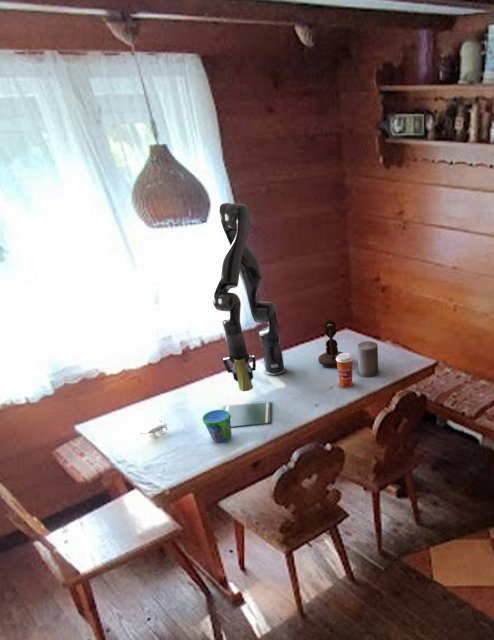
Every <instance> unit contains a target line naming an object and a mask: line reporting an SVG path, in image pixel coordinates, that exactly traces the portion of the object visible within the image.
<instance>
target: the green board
mask: <svg viewBox="0 0 494 640" xmlns="http://www.w3.org/2000/svg"><path fill="white" fill-rule="evenodd" d="M271 404H272V403H271V401H270V402H268V401H267V402H259V403H249V404H236V405H226V406H224V409H223V410H226V411H228V412H229V413H230V415H231V418H230V424H231V428H238V427H248V426H259V425H270V424H271Z"/></svg>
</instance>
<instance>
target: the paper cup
mask: <svg viewBox="0 0 494 640" xmlns="http://www.w3.org/2000/svg"><path fill="white" fill-rule="evenodd" d="M353 360H354V358H353V356H352V354H350V353H349V352H343V353H341V354H339V355H338V356H337V357H336V361H337V366H336V367H337V373H338V380H339V385H340V387H341V388H344V389H345V388H347V389H348V388H351V387H352V386H353Z"/></svg>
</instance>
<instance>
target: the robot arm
mask: <svg viewBox="0 0 494 640" xmlns="http://www.w3.org/2000/svg"><path fill="white" fill-rule="evenodd" d="M218 219H219V222H220V226H221V228H222V231H223V233H224V235H225V237H226V240H227V242H228V244H229V248H228V249H227V251H226V252H225V254H224V256H223V258H222V260H221V264H220V271H219V272H220V273H219V280H218V281H217V284H216V286H215V289H214V291H213V296H212V304H213V306H214V308H215V310H217V311H220V312H227V313H228V312H229V315H226V316H224V317H222V320H221V324H222V327H223V332H224V337H225V338H224V339H225V343H226V348H227V351H228V355H229V357H223V359H222V363H223V365H224V367H225V369H226V371H227V373H228V374H232V377H233V380H234V381H235V382H238V378H237V374H236V364H235V363H236V362H234V359H235V360H241V359H244V358H245V361H244V360H243V363H244V362H245V366H246V368H247V369H248V371H249V376H250V380H251V381H252V380H253V379H254V372H255V371H256V370H257V369H256V368H257V359H256V358H257V356H256V355H255V354H253V355H250V354H249V353H248V349H247V343H246V340H245V335H244V332H243V329H242V324H241V307H242V304H241V299H240V297H239V296H238V294H236V293H234V292H229V291H230V290H232V289H235V288H237V287H238V285H239V280H241V282H242V285H243V288H244V291H245V294H246V298H247V302H248V306H249V310H250V315H251V317H252V319H253V322H255V323H259V324H267V325H268V326H267V327H264V328H262V329H261V330H259V331H258V336H259V337H258V338H259V340H260V341H259V342H260V347H261V352H262V357H263V364H264V368H265V373H266V375H268V376H280V375H282V374H284V373H285V372H286V368H285V363H284V357H283V356H284V355H283V350H282V343H281V336H280V326H279V320H278V319H279V317H278V309H277V306H276V303H275V302H274V301H263V300H259V298H258V290H259V287H260V285H261V282H262V278H263V271H262V268H261V265H260V261H259V259H258V256H257V255H256V254H255V252H254V251H253V250H252V249H251V247H250V246H249V245H248V244H247V241H248V237H249V234H250V230H251V225H252V213H251V210H250V208H249V206H248V205H246V204H244V203H234V202H222V203H221V204H220V205H219V206H218ZM249 360H250V362H252V366H251V365H250V363H249ZM230 362H231V363H232V364H233V365H232V368H231V366H230V364H229V363H230Z"/></svg>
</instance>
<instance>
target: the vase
mask: <svg viewBox="0 0 494 640" xmlns="http://www.w3.org/2000/svg"><path fill="white" fill-rule="evenodd" d="M243 360H244V361H245V358H244V359H241V360H235V359H234V362H236V363H235V364H236V374H237V378H238V381H237V384H238V389H239V391H240V392H248V391H251V390H253V389H254V385H253V381H252V380H250V376H249V371H248V369H247V368H246V366H245V362H244V363H243Z"/></svg>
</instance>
